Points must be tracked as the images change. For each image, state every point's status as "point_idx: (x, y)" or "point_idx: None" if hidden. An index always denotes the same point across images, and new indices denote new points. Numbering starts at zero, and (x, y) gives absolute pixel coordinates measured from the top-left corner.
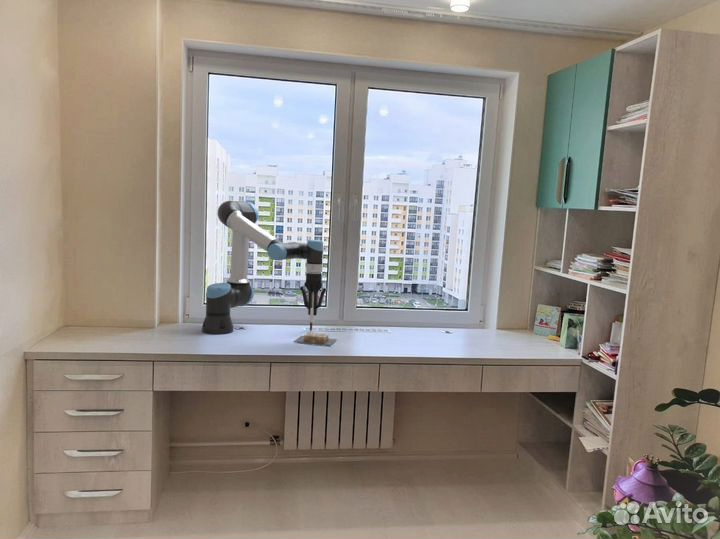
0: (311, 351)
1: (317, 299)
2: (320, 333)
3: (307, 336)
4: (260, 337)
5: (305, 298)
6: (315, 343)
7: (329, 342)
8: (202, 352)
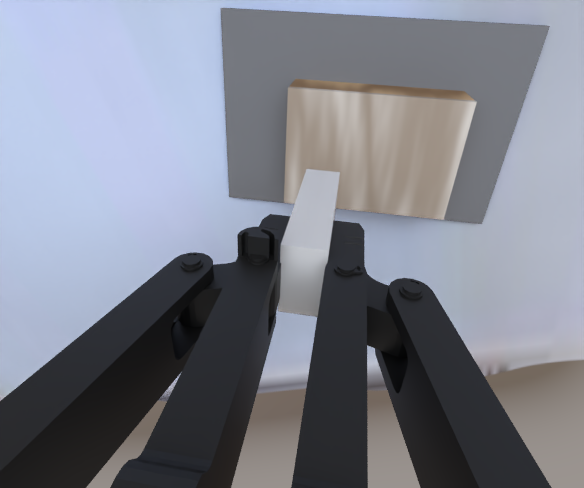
0: None
1: (365, 380)
2: (400, 102)
3: None
4: (3, 132)
5: (139, 418)
6: None
7: (474, 157)
8: (4, 392)
